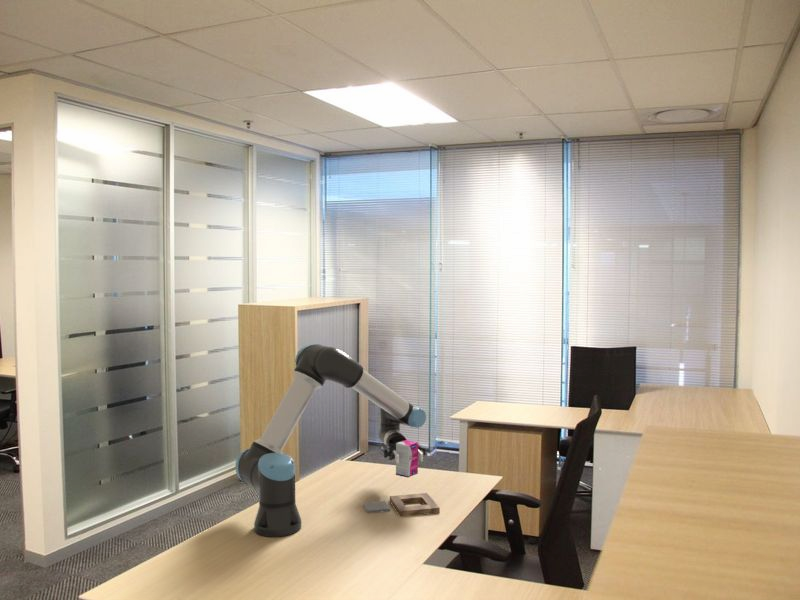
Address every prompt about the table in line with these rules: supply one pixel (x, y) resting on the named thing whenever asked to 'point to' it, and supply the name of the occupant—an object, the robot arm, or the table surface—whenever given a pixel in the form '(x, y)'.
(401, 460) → the supplement box
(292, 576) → the table surface
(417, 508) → the board
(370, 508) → the coaster
